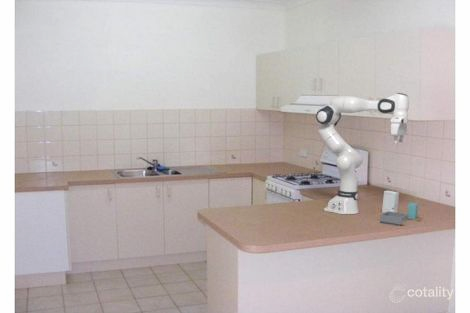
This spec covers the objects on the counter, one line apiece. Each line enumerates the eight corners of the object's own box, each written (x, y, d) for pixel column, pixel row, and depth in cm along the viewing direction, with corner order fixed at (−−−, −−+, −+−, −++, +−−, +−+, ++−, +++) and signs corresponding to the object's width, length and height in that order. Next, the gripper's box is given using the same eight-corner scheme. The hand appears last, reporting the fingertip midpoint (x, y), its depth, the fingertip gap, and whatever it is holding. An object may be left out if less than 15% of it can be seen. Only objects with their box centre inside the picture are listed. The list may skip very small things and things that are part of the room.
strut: (407, 218, 324) (408, 203, 323) (410, 216, 327) (410, 202, 326) (414, 219, 321) (415, 204, 320) (417, 218, 325) (418, 203, 324)
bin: (379, 223, 317) (380, 214, 316) (387, 219, 327) (387, 211, 326) (400, 226, 309) (401, 218, 309) (407, 222, 319) (408, 214, 319)
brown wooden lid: (399, 220, 323) (399, 213, 323) (405, 217, 333) (406, 209, 332) (419, 223, 316) (419, 215, 316) (425, 220, 326) (425, 212, 325)
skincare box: (381, 213, 341) (382, 191, 339) (385, 212, 346) (386, 190, 344) (394, 216, 336) (395, 193, 334) (398, 214, 340) (399, 191, 339)
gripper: (400, 119, 330) (398, 141, 332) (389, 119, 313) (387, 143, 315) (410, 120, 327) (408, 142, 328) (400, 120, 310) (398, 143, 311)
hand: (398, 142), depth 321 cm, fingers open, 8 cm apart
